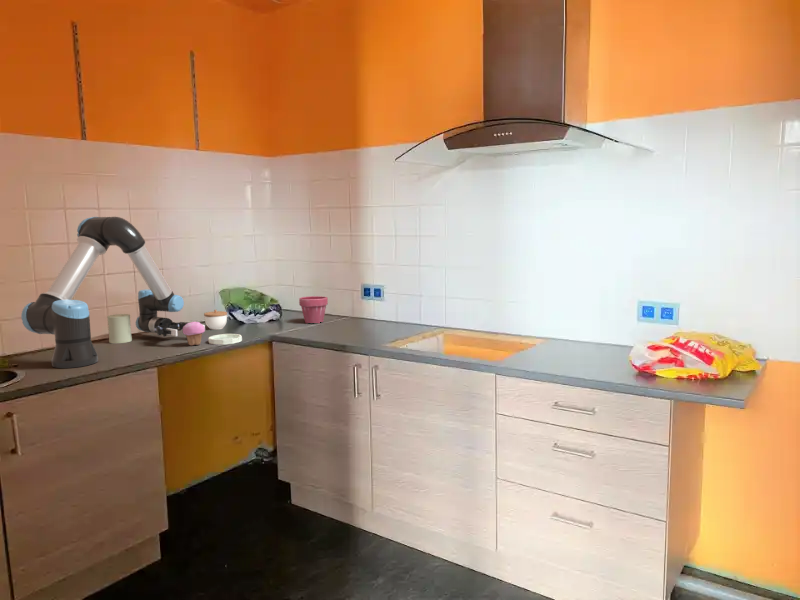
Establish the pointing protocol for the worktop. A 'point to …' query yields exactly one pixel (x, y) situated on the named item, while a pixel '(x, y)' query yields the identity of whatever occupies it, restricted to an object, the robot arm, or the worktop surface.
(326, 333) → the worktop surface
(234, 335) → the dish
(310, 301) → the plant pot
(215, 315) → the lidded jar
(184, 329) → the cupcake
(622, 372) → the worktop surface
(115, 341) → the can
